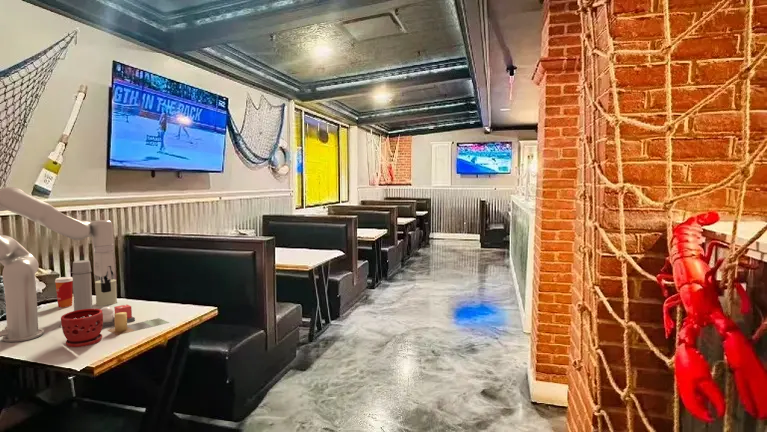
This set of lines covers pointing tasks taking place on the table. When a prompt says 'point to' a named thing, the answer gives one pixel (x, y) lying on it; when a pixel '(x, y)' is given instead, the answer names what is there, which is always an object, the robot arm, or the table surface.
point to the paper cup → (64, 291)
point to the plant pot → (82, 327)
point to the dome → (107, 315)
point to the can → (106, 294)
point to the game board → (140, 326)
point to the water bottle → (82, 285)
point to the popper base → (119, 309)
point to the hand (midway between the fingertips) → (106, 291)
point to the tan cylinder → (120, 321)
